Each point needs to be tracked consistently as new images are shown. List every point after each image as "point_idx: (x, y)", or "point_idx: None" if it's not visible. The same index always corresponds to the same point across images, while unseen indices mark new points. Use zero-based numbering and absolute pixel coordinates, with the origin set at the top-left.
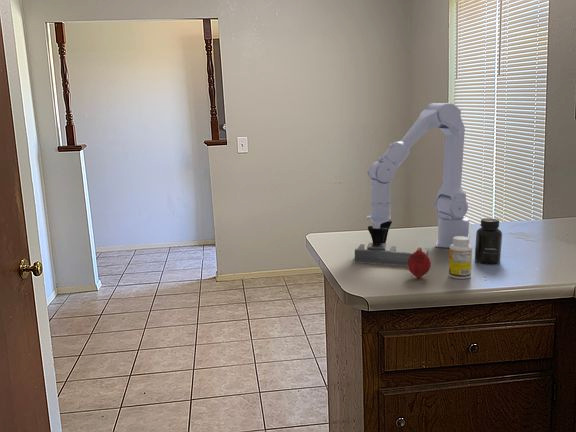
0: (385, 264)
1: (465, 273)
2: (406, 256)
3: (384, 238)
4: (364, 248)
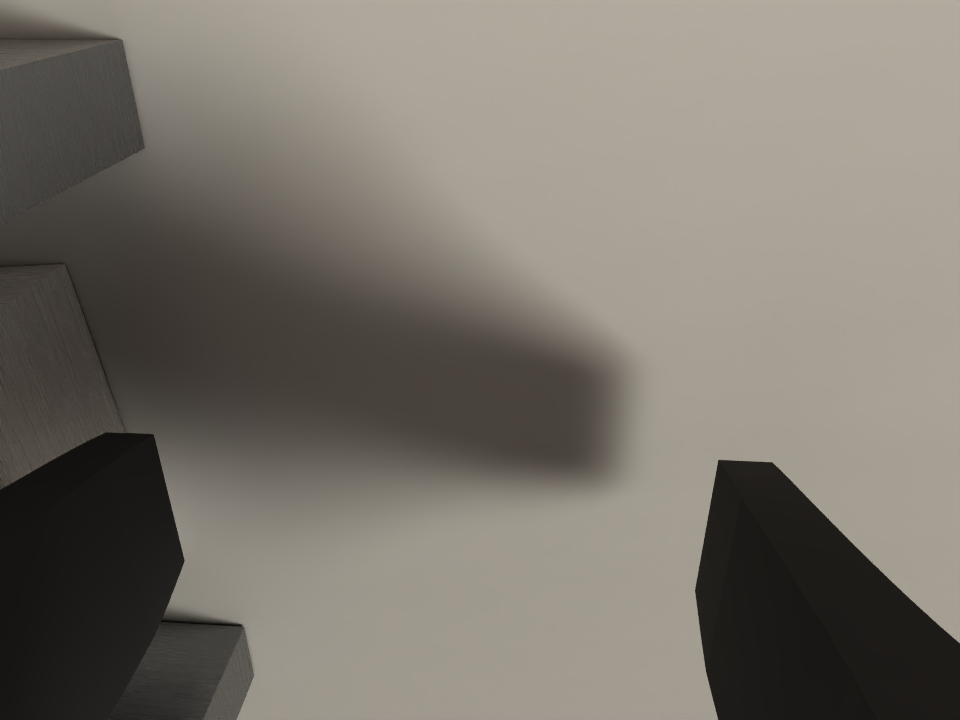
0: None
1: None
2: None
3: (731, 708)
4: (47, 190)
